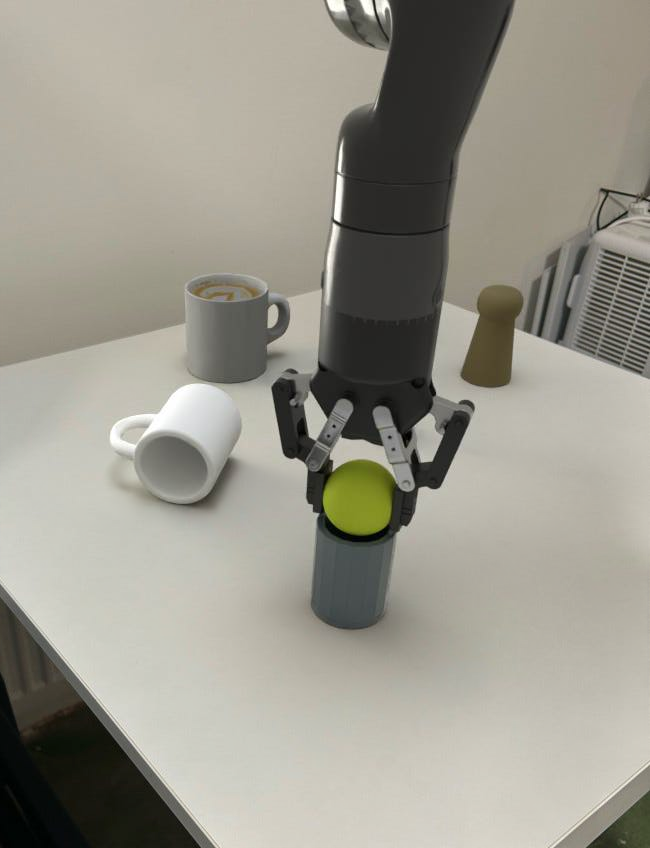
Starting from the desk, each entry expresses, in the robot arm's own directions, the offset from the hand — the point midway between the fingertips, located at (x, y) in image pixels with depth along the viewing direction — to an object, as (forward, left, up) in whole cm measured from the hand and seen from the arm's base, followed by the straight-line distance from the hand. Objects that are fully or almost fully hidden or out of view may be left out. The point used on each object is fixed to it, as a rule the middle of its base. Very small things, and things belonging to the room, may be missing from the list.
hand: (358, 515), depth 61 cm
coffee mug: (+26, -39, -9) cm, 48 cm away
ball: (0, 0, +2) cm, 2 cm away
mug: (+22, -12, -9) cm, 27 cm away
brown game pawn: (-3, -48, -9) cm, 49 cm away
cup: (0, 0, -9) cm, 9 cm away
